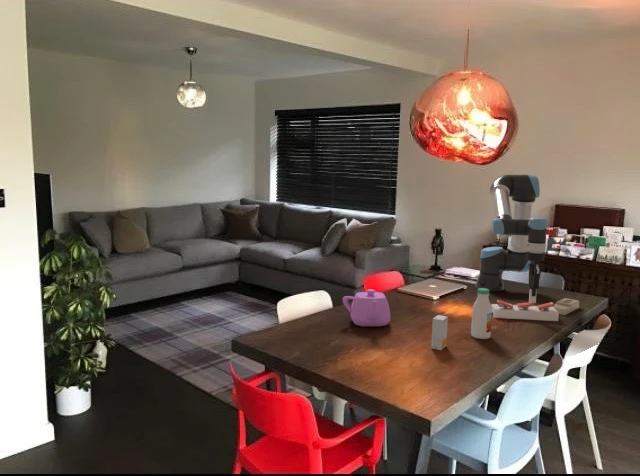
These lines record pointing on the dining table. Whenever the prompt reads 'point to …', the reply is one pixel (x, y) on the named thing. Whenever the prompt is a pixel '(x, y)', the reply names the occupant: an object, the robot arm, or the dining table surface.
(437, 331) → the skincare box
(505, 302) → the rocker
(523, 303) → the rocker
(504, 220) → the robot arm
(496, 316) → the power strip
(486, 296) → the milk bottle
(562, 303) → the electrical outlet
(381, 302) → the teapot
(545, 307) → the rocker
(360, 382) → the dining table surface
